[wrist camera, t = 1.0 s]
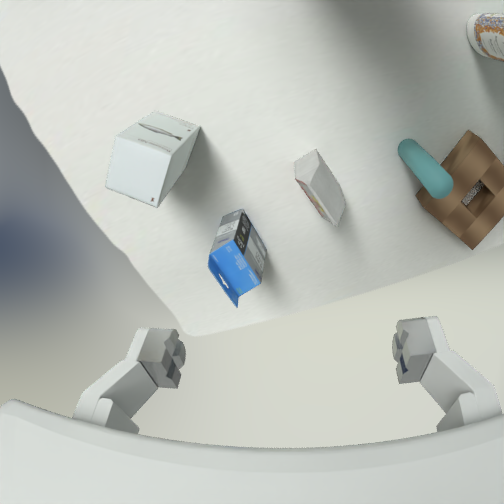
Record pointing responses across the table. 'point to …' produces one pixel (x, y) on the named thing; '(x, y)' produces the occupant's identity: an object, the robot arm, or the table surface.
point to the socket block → (464, 178)
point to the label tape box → (237, 255)
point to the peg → (426, 169)
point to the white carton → (320, 186)
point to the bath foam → (487, 34)
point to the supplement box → (150, 157)
